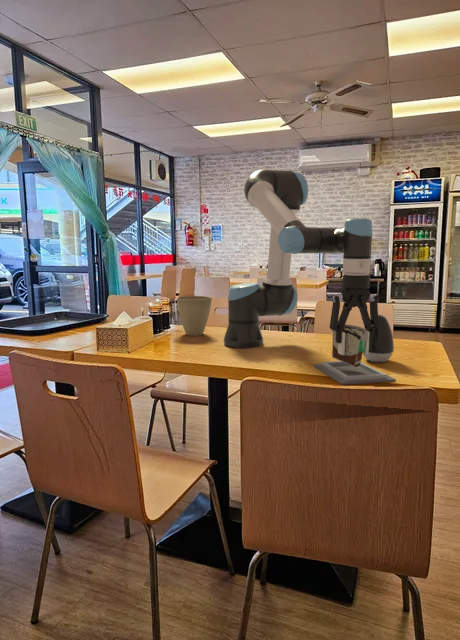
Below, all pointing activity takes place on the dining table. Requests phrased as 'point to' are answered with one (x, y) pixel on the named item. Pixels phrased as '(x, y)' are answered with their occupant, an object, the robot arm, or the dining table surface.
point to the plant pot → (194, 313)
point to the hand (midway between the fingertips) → (353, 353)
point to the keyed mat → (352, 373)
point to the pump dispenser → (381, 342)
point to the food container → (351, 345)
